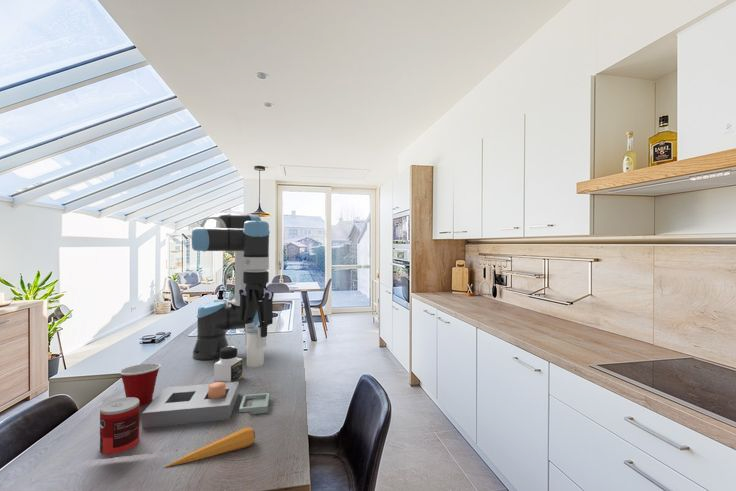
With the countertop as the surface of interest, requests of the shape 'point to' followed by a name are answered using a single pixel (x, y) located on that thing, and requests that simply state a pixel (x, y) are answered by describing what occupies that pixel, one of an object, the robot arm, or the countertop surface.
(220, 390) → the plunger
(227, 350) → the medicine bottle
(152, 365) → the plastic cup
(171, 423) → the housing
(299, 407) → the countertop surface
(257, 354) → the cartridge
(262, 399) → the tray
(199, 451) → the carrot
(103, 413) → the canned food
